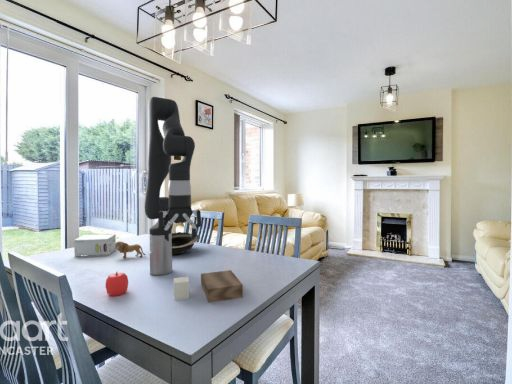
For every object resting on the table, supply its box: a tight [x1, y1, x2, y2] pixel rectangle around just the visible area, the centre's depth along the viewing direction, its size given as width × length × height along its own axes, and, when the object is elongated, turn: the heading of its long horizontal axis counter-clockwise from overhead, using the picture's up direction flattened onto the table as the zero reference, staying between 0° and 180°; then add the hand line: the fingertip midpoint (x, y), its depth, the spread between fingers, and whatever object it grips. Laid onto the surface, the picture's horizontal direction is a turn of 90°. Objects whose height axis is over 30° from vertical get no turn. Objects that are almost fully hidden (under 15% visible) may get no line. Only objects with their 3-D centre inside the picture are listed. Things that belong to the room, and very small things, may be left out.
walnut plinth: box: [200, 269, 244, 303], centre depth 102 cm, size 12×16×5 cm
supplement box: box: [73, 233, 117, 257], centre depth 155 cm, size 17×13×9 cm
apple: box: [105, 271, 129, 297], centre depth 101 cm, size 8×8×8 cm
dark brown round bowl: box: [172, 231, 201, 256], centre depth 157 cm, size 25×25×9 cm
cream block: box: [173, 276, 190, 301], centre depth 98 cm, size 5×5×6 cm
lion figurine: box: [115, 241, 147, 260], centre depth 146 cm, size 15×5×9 cm, turn 114°
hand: (180, 239), depth 97 cm, fingers open, 8 cm apart
